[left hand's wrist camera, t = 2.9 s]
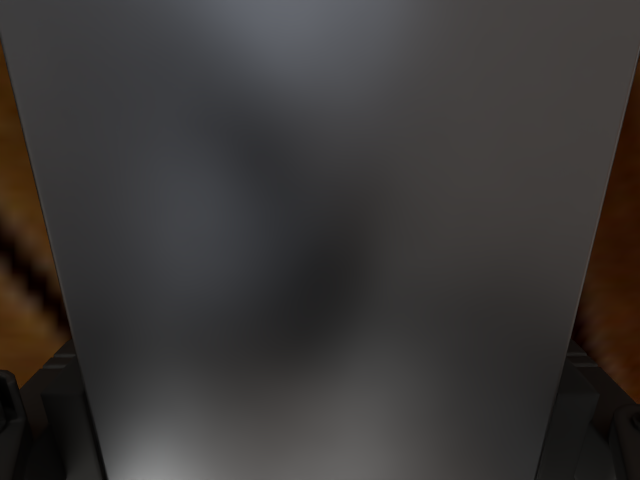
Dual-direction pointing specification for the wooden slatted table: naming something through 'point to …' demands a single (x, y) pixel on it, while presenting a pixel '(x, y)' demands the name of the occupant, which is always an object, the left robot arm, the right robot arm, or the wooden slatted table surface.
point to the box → (321, 223)
